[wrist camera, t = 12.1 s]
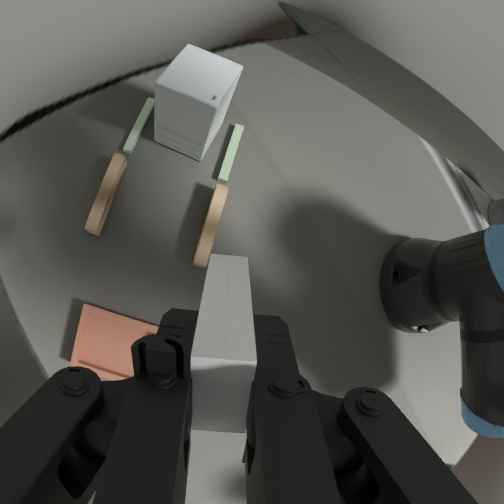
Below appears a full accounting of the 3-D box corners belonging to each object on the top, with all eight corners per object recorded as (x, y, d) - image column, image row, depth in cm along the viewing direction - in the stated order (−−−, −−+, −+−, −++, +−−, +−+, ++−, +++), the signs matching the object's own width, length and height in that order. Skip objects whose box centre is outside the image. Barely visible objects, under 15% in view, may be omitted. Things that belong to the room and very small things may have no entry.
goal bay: (148, 100, 41) (148, 97, 40) (242, 129, 44) (244, 126, 43) (123, 152, 39) (122, 149, 38) (225, 183, 42) (227, 180, 41)
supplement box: (223, 123, 43) (246, 66, 31) (200, 163, 41) (217, 109, 29) (178, 102, 42) (188, 41, 30) (151, 140, 40) (153, 81, 28)
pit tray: (87, 303, 34) (83, 303, 32) (166, 328, 36) (166, 329, 35) (74, 363, 32) (69, 366, 31) (152, 388, 35) (151, 392, 33)
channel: (116, 161, 38) (114, 152, 36) (224, 194, 41) (228, 187, 39) (88, 232, 36) (84, 227, 33) (203, 268, 39) (206, 265, 37)
